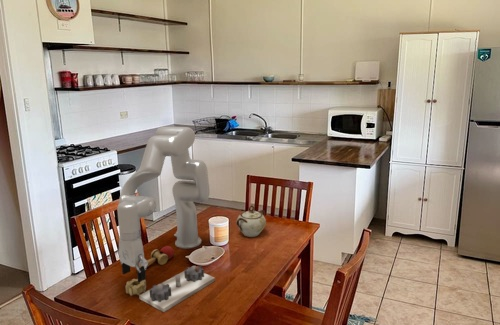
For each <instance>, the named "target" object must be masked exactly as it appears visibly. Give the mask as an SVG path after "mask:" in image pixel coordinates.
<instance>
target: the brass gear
mask: <svg viewBox="0 0 500 325" xmlns="http://www.w3.org/2000/svg"><path fill="white" fill-rule="evenodd" d="M146 291H147V281H146V279H145V280H143V281H141V282H138V278H133V279H131V280H128V281H126V285H125V293H126V294H129V296H134V295H136V296H139V295H141V294H143V293H144V292H146Z"/></svg>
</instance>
